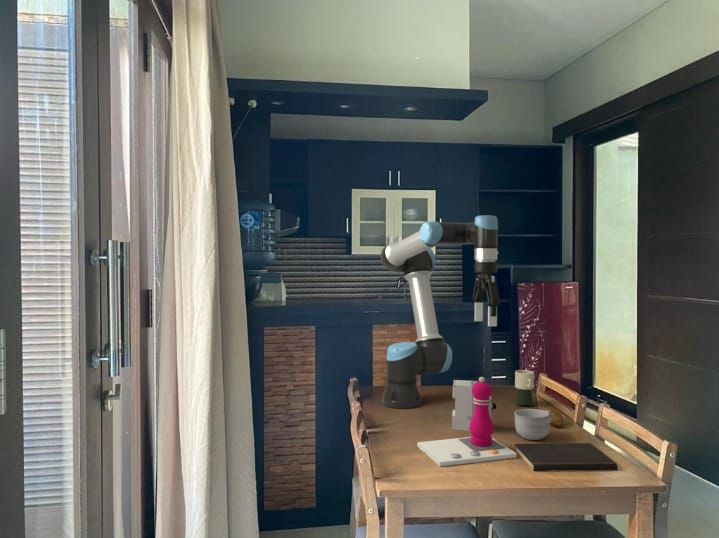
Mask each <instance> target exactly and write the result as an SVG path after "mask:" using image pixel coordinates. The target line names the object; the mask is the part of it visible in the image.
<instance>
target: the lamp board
mask: <svg viewBox="0 0 719 538" xmlns="http://www.w3.org/2000/svg"><path fill="white" fill-rule="evenodd" d="M417 447H418V448H419V449H420V450H421V451H422V452H423V453H424V452H425V453H426V454H425V453H424V454H425V455H426V456H428V458H430V459H431V460H432V461H433V462H434V463H435V464H436V465H438V466H439V467H440V468H441V467H448V466H455V465H464V464H473V463H474V464H475V463H482V462H488V461H489V462H490V461H499V460H500V461H501V460H507V458H509V459H516V458H518V456H517V455H518V454H517V453H518V452H516V451H513V450H512V449H511V448H510V447H507V446H506V445H504V444H502V443H501V442H499V441H498V440H496V439H495V438H493V437H492V444H491V445H490V446H476V445H474V444H472V443H471V436H466V437H457V438H448V439H438V440H437V439H436V440H427V441H420V442H419V441H418V442H417Z"/></svg>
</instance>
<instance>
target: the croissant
mask: <svg viewBox="0 0 719 538" xmlns="http://www.w3.org/2000/svg"><path fill="white" fill-rule="evenodd" d="M548 411H551V412H552V415H553V418H552V421H551V422H550V423H549V426H552V427H554V428H557V429H562V426H563V423H564V420H563V419H564V418H563V416H562V414H561V412H560V411H558V410H557V409H556V410H555V409H553V408H552V409H549V410H548Z"/></svg>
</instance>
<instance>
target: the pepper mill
mask: <svg viewBox="0 0 719 538" xmlns="http://www.w3.org/2000/svg"><path fill="white" fill-rule="evenodd" d="M472 394H473V395H474V398H473V399H474V401H473V403H475V410H474V414H473V417H472V419H471V421H470V425H469V430H470V431H469V432H470V433H471V436H470V437H471V443H472V444H474V445H476V446H490V445H491V444H492V438H493V437H492V435H493V434H494V432H495V428H494V423H493V421H492V417H491V418H490V415H489V404H490V398H489V397H490V396H491V397H492V394H493V389H492V386H491V385H490V384H489V383H488V382H486V379H485V377H483V376H480V377H479V378H478V381H477V383H475V384H474V385H473V386H472Z"/></svg>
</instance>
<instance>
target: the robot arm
mask: <svg viewBox="0 0 719 538" xmlns="http://www.w3.org/2000/svg"><path fill="white" fill-rule="evenodd" d="M498 236H499V225H498V217H497V216H495V215H491V214H490V215H486V214H485V215H477V216H475V218H474V222H445V221H444V222H443V221H434V220H433V221H425V222H424V223H422V225H421V227H420V230H419V231H416V232H415V233H413V234H411V235H409V236H407V237H405V238H403V239H402V240H400V241H398V242H397V241H396V242H395V241H393V242H391V243H388V244H387V245H385V246H384V247H383V248H382V250H381V251H380V261H381V264H382V265H383V266H384V268H385V269H387V270H388V271H390V272H393V273H403V278H404V279H405V281H407V282H408V285H409V291H410V298H411V305H412V311H413V317H414V322H415V329H416V330H415V331H416V335H417V338H416V339H415V340H414V341H401V342H396V343H393V344H391V345H389V346H388V347H387V351H386V385H385V389H384V392H383V394H382V399H381V400H382V401H381V404H382V405H383V406H385V407H389V408H394V409H412V408H413V407H414V408H417V406H418V407H419V406H421V405H422V397H421V394H420V390H419V387H418V383H417V381H418V377H417V376H421V375H422V376H423V375H434V374H436V375H437V374H441V373H444V372H447V371H448V370H449V369H450V367H451V365H452V362H453V351H452V348H451V346H450V345H449V344H448V343H446V342H445V341H444V337H443V336H442V335H440V334H439V329H438V322H437V317H436V311H435V305H434V299H433V294H432V287H431V283H430V277H431V276H432V275H433V274H432V273H433V272H432V271H433V270H434V269H435V267H436V256H435V252H434V251H433V250H432V248H434V247H436V246H439V245H462V246H463V245H465V246H466V245H474V260H475V262H474V273H475V282H474V287H473V294H472V300H473V302H474V322H483V321H484V320H483V319H484V295H485V294H486V296H487V297H486V298H487V301H488V304H487V307H488V308H487V311H488V312H487V326H488V327H497V326H498V307H499V306H500V304H501V301H500V300H501V299H500V295H499V289H498V282H497V280H498V279H497V276H496V275H493V274H495V273H496V274H497V273H498V262H497V260H498V254H499V251H498V241H499V240H498V238H499V237H498ZM476 273H477V274H476ZM414 408H413V409H414Z"/></svg>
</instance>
